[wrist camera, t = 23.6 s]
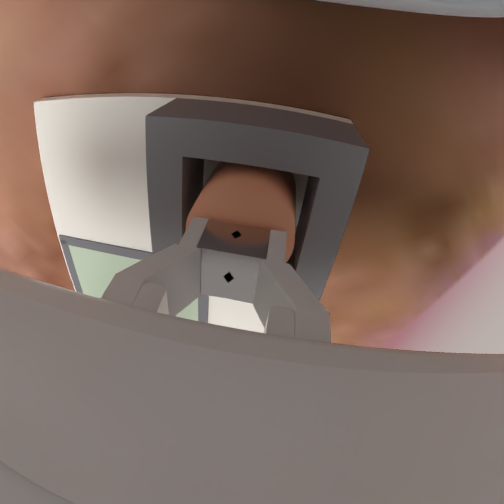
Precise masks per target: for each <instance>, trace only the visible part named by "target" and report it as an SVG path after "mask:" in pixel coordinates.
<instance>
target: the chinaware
mask: <svg viewBox="0 0 504 504" xmlns="http://www.w3.org/2000/svg"><path fill="white" fill-rule="evenodd" d="M316 1H324V2H332V3H339V4H347V5H355V6H363V7H372V8H380V9H388V10H397V11H406V12H416V13H425V14H437V15H448V16H462V17H490V18H498V17H504V0H316Z"/></svg>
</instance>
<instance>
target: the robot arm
mask: <svg viewBox="0 0 504 504" xmlns="http://www.w3.org/2000/svg"><path fill="white" fill-rule="evenodd" d="M286 237H287V232H286V231H281V230H273V229H271V230H270V229H265V228H259V227H252V226H245V225H240V224H236V223H230V222H225V221H219V220H214V219H209V218H202V217H196V216H195V217H193V218H192V220H191V222H190V224H189V226H188V228H187V229H186V231H185V233H184V235H183V237H182V239H181V241H180V243H179V245H178V244H173V245H171V246H169V247H167V248H165V249H163V250H161V251H159V252H157V253H155V254H153V255H151V256H149V257H147V258H145V259H143V260H141V261H139V262H137V263H135V264H133V265H132V266H130V267H128V268H126V269H124V270H122V271H120V272H118V273H116V274H115V276H114V277H113V279H112V280H111V282H110V284H109V285H108V287H107V288H106V290H105V292H104V293H103V295H102V297H101V298H97V297H93V296H90V295H86V294H83V293H79V292H75V291H72V290H68V289H65V288H62V287H58V286H55V285H52V284H48V283H45V282H42V281H39V280H35V279H32V278H29V277H26V276H23V275H20V274H17V273H14V272H11V271H8V270H5V269H2V268H0V504H504V354H470V353H444V352H426V351H411V350H410V351H409V350H398V349H386V348H375V347H364V346H354V345H346V344H337V343H331V330H330V313H329V312H328V311H327V310H326V308H325V307H324V306H323V305H322V303H321V302H320V301H319V300H318V298H317V297H316V296H315V295H314V293H313V292H312V291H311V290H310V289H309V287H308V286H307V285H306V284H305V282H304V281H303V280H302V279H301V277H300V276H299V275H298V274H297V273H296V271H295V270H294V269H293V268H292V266H291V265H290V264H288V263H285V253H286ZM200 294H203V295H209V296H215V297H221V298H227V299H232V300H237V301H242V302H247V303H252V304H253V306H254V308H255V310H256V312H257V314H258V316H259V318H260V320H261V322H262V324H263V326H264V328H265V329H264V333H260V332H254V331H249V330H243V329H237V328H232V327H226V326H221V325H215V324H210V323H205V322H200V321H195V320H190V319H185V318H181V317H176V315H177V314H178V313H180V312H181V311H182V310H183V309H184V308H186V307H187V306H188V305H189V304H191V303H192V302H193V301H194V300H195V299H197V298H198V297H199V296H200Z"/></svg>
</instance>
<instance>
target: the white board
mask: <svg viewBox="0 0 504 504" xmlns="http://www.w3.org/2000/svg"><path fill="white" fill-rule="evenodd" d="M34 111H35V121H36V129H37V137H38V144H39V151H40V157H41V163H42V169H43V174H44V179H45V184H46V189H47V194H48V198H49V203H50V207H51V211H52V215H53V219H54V223H55V227H56V231H57V234H58V238H59V241H60V245H61V248H62V252H63V255H64V258H65V261H66V265H67V268H68V271H69V274H70V277H71V280H72V283H73V286H74V288H75V291H76V292H79V293H83V294H86V295H90V296H93V297H97V298H101V297H102V295H103V293H104V292H105V290H106V288H107V287H108V285H109V284H110V282H111V280H112V279H113V277H114V276H115V274H116V273H118V272H120V271H122V270H124V269H126V268H128V267H130V266H132V265H133V264H135V263H137V262H139V261H141V260H143V259H145V258H147V257H149V256H151V255H153V254H155V253H157V252H159V251H161V250H163V249H165V248H167V247H169V246H171V245H173V244H178V245H179V243H180V241H181V239H182V237H183V235H184V233H185V231H186V221H187V217H188V215H189V213H190V211H191V209H192V207H193V205H194V204H195V202H196V200H197V198H198V196H199V195H200V193H201V191H202V189H203V188H204V186H205V184H206V182H207V181H208V179H209V177H210V176H211V174H212V172H213V171H214V169H215V167H216V166H217V164H218V163H219V162H220V161H223V162H230V163H237V164H244V165H250V166H257V167H263V168H269V169H275V170H281V171H287V172H292V174H293V176H294V179H295V184H296V216H295V244H294V249H293V252H292V254H291V256H290V258H289V259H288V261H287V262H286V263H288V264H290V265H291V266H292V268H293V269H294V270H295V271H296V273H297V274H298V275H299V276H300V277H301V279H302V280H303V281H304V282H305V284H306V285H307V286H308V287H309V289H310V290H311V291H312V292H313V293H314V295H315V296H316V297H317V298H318V300H319V301H320V298H321V296H322V293H323V290H324V288H325V285H326V282H327V280H328V277H329V274H330V271H331V269H332V266H333V263H334V260H335V258H336V255H337V252H338V249H339V246H340V243H341V240H342V237H343V235H344V232H345V229H346V226H347V223H348V220H349V216H350V213H351V210H352V207H353V204H354V201H355V198H356V195H357V191H358V188H359V185H360V181H361V178H362V175H363V171H364V168H365V165H366V161H367V158H368V154H369V150H370V148H369V147H368V145H367V144H366V142H365V141H364V139H363V138H362V136H361V134H360V133H359V131H358V130H357V128H356V127H355V125H354V124H353V122H352V121H351V120H350V119H346V118H342V117H338V116H333V115H329V114H324V113H319V112H314V111H309V110H304V109H299V108H293V107H287V106H282V105H275V104H269V103H262V102H255V101H247V100H239V99H230V98H221V97H210V96H197V95H182V94H159V93H107V94H84V95H70V96H58V97H48V98H42V99H40V100H37V101H35V102H34ZM176 317H181V318H185V319H190V320H195V321H200V322H205V323H210V324H215V325H221V326H226V327H232V328H237V329H243V330H249V331H254V332H260V333H264V329H265V328H264V326H263V324H262V322H261V320H260V318H259V316H258V314H257V312H256V310H255V308H254V306H253V304H252V303H247V302H242V301H237V300H232V299H227V298H221V297H215V296H209V295H203V294H200V296H199V297H198V298H197V299H195V300H194V301H193V302H192V303H191V304H189V305H188V306H187V307H186V308H184V309H183V310H182V311H181V312H180V313H178V314H177V315H176Z"/></svg>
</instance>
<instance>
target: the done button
mask: <svg viewBox="0 0 504 504" xmlns="http://www.w3.org/2000/svg"><path fill="white" fill-rule="evenodd" d="M195 216H196V217H202V218H209V219H214V220H219V221H225V222H230V223H236V224H240V225H245V226H252V227H259V228H265V229H270V230H271V229H273V230H281V231H286V232H287V237H286V253H285V263H286V262H287V261H288V259H289V258H290V256H291V254H292V252H293V249H294V244H295V216H296V184H295V179H294V176H293V174H292V172H287V171H281V170H275V169H269V168H263V167H257V166H250V165H244V164H237V163H230V162H223V161H220V162H219V163H218V164H217V166H216V167H215V169H214V171H213V172H212V174H211V176H210V177H209V179H208V181H207V182H206V184H205V186H204V188H203V189H202V191H201V193H200V195H199V196H198V198H197V200H196V202H195V204H194V205H193V207H192V209H191V211H190V213H189V215H188V217H187V221H186V229H187V228H188V226H189V224H190V222H191V220H192V218H193V217H195Z"/></svg>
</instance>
